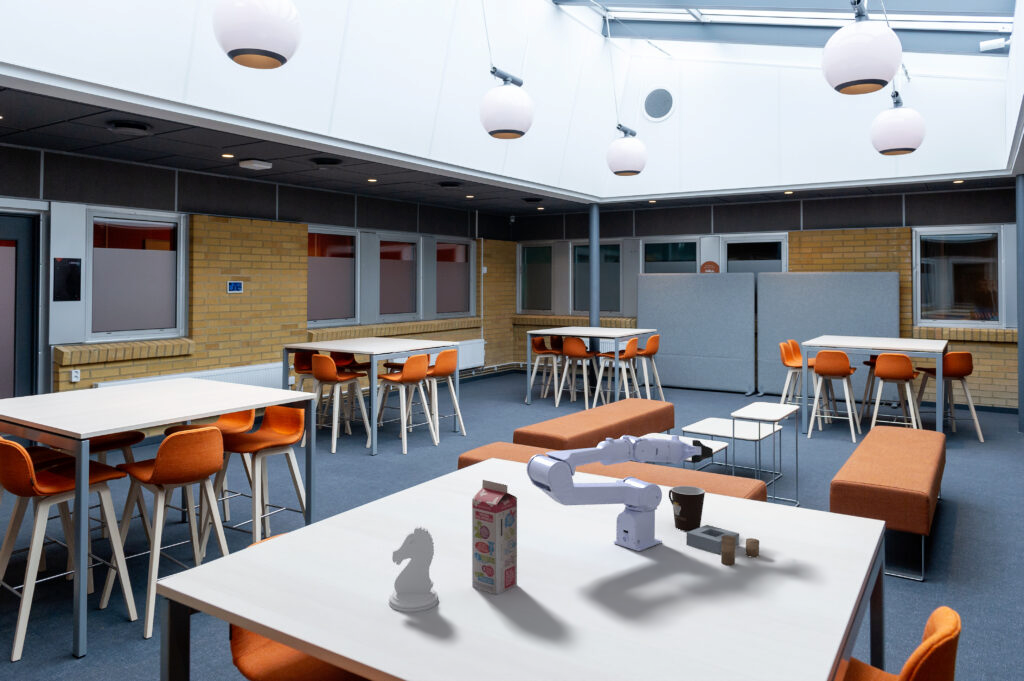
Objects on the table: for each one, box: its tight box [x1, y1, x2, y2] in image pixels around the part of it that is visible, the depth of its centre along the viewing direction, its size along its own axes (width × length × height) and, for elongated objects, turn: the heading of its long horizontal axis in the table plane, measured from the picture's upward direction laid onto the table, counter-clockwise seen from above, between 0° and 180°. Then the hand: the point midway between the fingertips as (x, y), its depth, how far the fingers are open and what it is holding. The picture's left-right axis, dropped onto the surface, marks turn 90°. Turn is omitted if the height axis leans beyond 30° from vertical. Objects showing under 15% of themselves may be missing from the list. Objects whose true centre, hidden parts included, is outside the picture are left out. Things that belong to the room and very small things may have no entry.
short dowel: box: [745, 537, 760, 558], centre depth 168 cm, size 3×3×4 cm
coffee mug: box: [668, 485, 706, 532], centre depth 189 cm, size 12×9×10 cm
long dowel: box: [720, 535, 736, 566], centre depth 162 cm, size 3×3×6 cm
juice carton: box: [471, 479, 518, 596], centre depth 149 cm, size 7×7×22 cm
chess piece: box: [388, 526, 439, 613], centre depth 141 cm, size 10×10×15 cm
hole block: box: [685, 524, 740, 555], centre depth 174 cm, size 9×9×3 cm
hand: (700, 453), depth 185 cm, fingers open, 7 cm apart
